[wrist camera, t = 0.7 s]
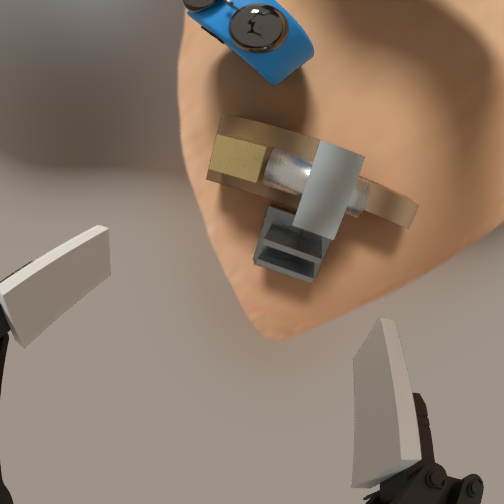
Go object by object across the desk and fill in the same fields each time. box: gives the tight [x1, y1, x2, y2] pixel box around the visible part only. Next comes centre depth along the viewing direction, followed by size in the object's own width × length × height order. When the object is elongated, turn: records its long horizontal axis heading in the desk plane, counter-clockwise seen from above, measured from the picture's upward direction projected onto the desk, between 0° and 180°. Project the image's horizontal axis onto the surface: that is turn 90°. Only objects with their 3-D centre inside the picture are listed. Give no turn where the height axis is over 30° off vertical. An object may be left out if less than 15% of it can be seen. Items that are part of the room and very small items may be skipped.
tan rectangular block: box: [209, 134, 273, 183], centre depth 27 cm, size 5×4×4 cm
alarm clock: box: [183, 0, 314, 86], centre depth 20 cm, size 13×6×15 cm, turn 42°
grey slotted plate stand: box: [253, 205, 331, 283], centre depth 34 cm, size 8×9×6 cm
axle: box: [263, 148, 370, 218], centre depth 26 cm, size 10×4×4 cm, turn 74°
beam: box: [206, 113, 419, 240], centre depth 27 cm, size 24×8×11 cm, turn 74°
